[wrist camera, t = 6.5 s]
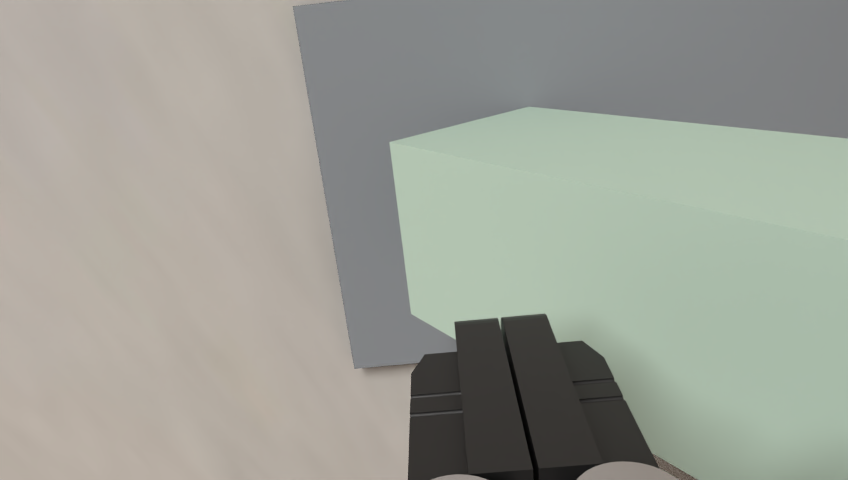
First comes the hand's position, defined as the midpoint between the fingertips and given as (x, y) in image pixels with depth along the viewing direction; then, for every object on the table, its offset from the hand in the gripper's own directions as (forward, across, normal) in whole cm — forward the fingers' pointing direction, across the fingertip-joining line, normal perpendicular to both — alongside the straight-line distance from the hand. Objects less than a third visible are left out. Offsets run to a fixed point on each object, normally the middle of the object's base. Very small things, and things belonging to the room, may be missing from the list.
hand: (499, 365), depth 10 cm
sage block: (+8, 0, 0) cm, 8 cm away
